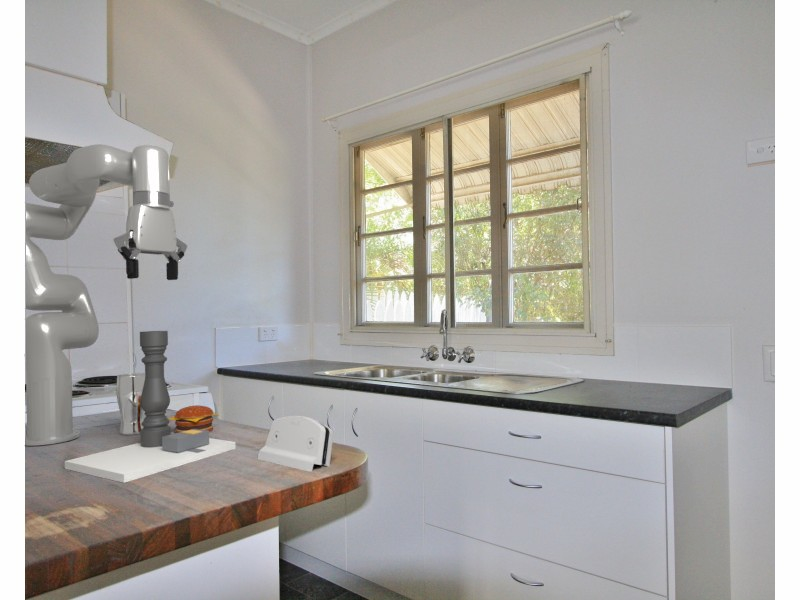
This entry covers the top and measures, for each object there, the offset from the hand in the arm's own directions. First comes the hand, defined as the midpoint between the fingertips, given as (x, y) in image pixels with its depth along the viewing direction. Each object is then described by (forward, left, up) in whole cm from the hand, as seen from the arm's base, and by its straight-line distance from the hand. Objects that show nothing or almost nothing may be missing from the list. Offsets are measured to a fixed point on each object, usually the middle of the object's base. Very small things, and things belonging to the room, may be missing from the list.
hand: (153, 279), depth 120 cm
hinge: (+34, +8, -39) cm, 52 cm away
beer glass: (-23, +9, -38) cm, 46 cm away
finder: (+9, +1, -37) cm, 38 cm away
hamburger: (-9, +17, -39) cm, 43 cm away
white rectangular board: (+5, -4, -38) cm, 39 cm away
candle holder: (0, 0, -37) cm, 37 cm away
